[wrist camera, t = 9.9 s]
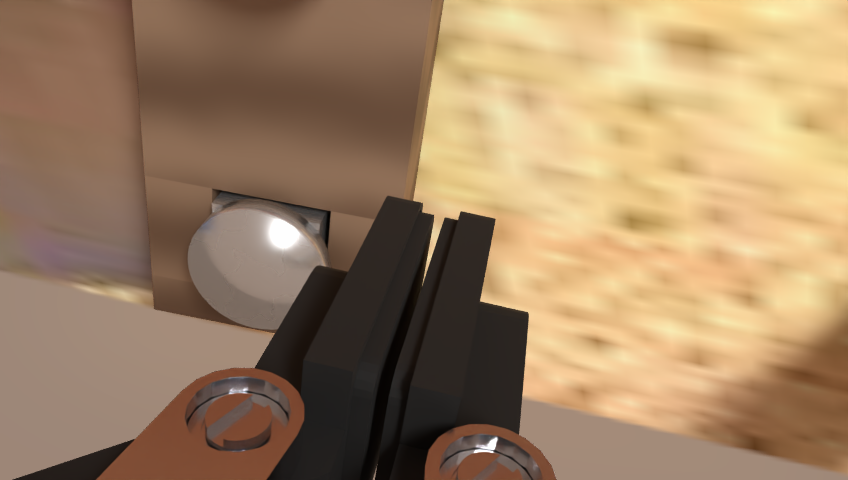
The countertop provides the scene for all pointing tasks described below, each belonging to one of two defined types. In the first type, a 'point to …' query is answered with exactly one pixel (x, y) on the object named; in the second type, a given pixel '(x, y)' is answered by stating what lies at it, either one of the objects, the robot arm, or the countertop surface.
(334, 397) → the robot arm
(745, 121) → the countertop surface
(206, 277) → the plunger steel
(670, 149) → the countertop surface
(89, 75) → the countertop surface
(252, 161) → the block
